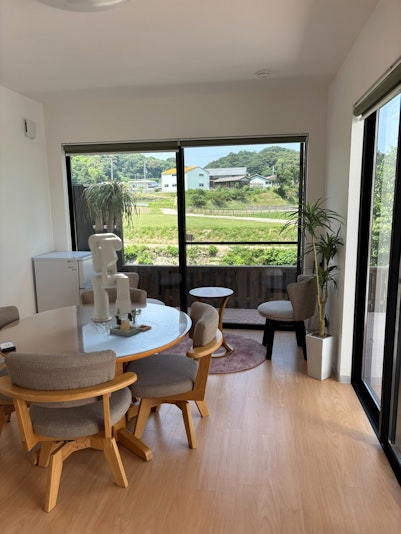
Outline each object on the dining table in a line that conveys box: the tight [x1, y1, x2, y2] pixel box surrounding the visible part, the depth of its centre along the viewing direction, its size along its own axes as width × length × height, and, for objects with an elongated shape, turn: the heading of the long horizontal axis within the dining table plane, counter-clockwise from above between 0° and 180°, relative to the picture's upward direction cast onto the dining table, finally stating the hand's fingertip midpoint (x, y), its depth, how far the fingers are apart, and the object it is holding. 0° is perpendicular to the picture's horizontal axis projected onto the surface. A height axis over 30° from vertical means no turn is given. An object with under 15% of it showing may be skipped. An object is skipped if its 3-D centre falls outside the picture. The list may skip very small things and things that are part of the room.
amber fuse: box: [120, 317, 131, 332], centre depth 250 cm, size 4×4×8 cm
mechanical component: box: [127, 307, 142, 325], centre depth 270 cm, size 3×10×10 cm, turn 78°
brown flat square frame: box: [136, 324, 152, 333], centre depth 257 cm, size 8×8×2 cm
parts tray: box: [109, 325, 141, 338], centre depth 250 cm, size 15×11×3 cm
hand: (124, 322), depth 250 cm, fingers open, 9 cm apart
